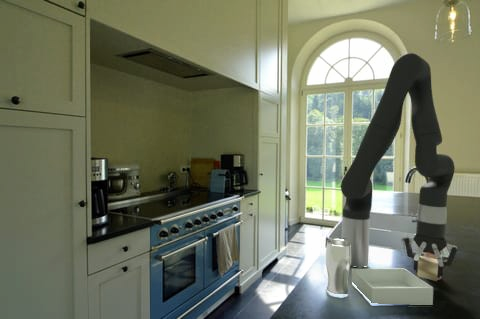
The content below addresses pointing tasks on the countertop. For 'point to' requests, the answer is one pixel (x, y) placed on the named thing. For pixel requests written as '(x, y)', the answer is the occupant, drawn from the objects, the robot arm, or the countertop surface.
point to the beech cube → (427, 268)
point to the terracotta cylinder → (431, 257)
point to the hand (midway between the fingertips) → (427, 274)
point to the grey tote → (392, 286)
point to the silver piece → (338, 265)
